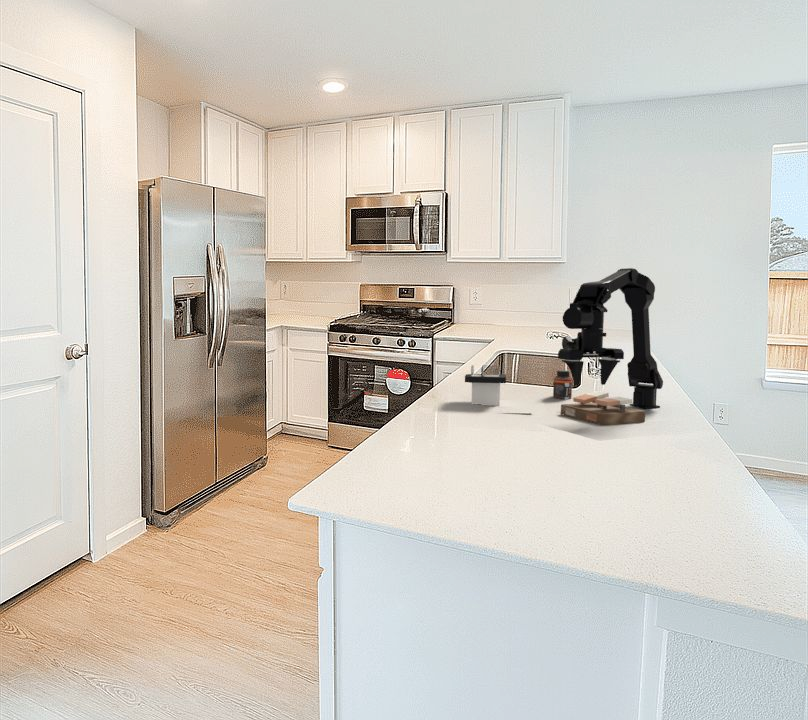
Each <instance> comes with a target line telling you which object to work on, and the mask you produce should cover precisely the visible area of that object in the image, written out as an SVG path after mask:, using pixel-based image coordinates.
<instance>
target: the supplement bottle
mask: <svg viewBox="0 0 808 720" xmlns="http://www.w3.org/2000/svg"><path fill="white" fill-rule="evenodd" d="M572 389H573V377H570V370H566V369H565V370H564V369H563V370H562V369H561V370H556V376H554V377H553V390H552V398H554V399H556V400H557V399H558V400H572V397H573V394H572V393H573V390H572Z"/></svg>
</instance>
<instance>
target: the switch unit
mask: <svg viewBox="0 0 808 720" xmlns="http://www.w3.org/2000/svg"><path fill="white" fill-rule="evenodd" d="M561 414H564V415H563V416H565V415H566V416H565V417H569V418H574V419H578V420H582V421H585V422H590V423H592V424H593V423H594V424H598V425H602V426H608V425H609V426H610V425H619V424H620V425H621V424H633V423H642V422H643V423H644V422H645V421H646V410H641V409H637V408H631V407H627V406H626V404H622V405H620V408H617V407H613V406H604V405H599V404H595V403H593V402H590V403H587V404H583V403H578V402H576V403H565V404H560V415H561Z"/></svg>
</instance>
